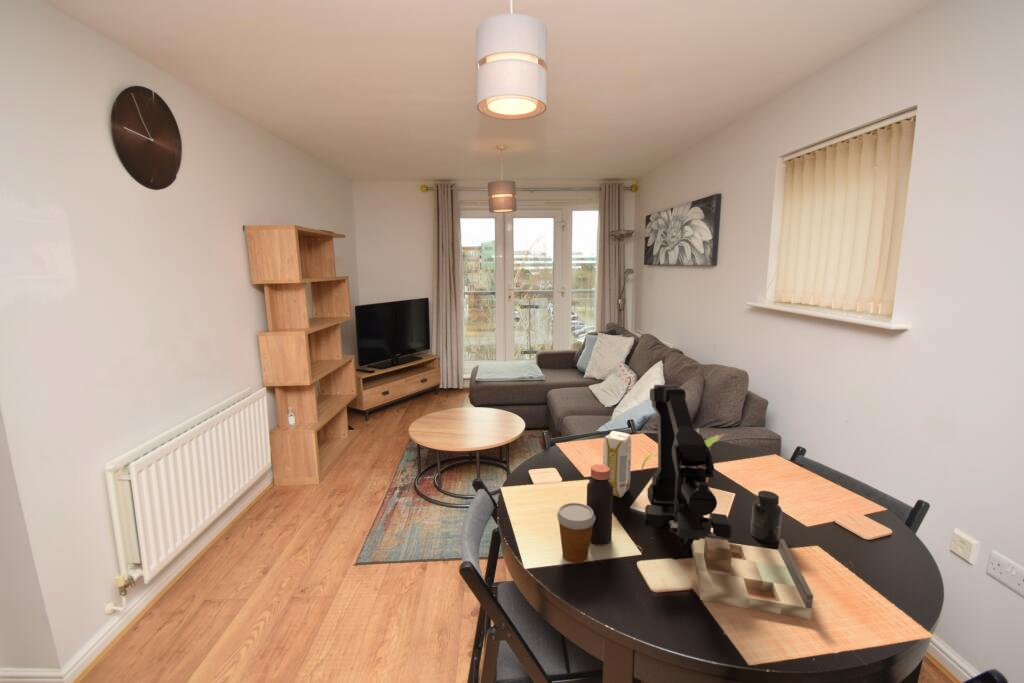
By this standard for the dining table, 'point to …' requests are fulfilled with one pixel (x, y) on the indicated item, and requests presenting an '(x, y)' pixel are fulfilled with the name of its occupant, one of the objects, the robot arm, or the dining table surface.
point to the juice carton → (618, 460)
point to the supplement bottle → (766, 517)
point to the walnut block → (717, 554)
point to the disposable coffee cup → (575, 531)
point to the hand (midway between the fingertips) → (684, 553)
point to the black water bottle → (600, 504)
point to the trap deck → (756, 580)
